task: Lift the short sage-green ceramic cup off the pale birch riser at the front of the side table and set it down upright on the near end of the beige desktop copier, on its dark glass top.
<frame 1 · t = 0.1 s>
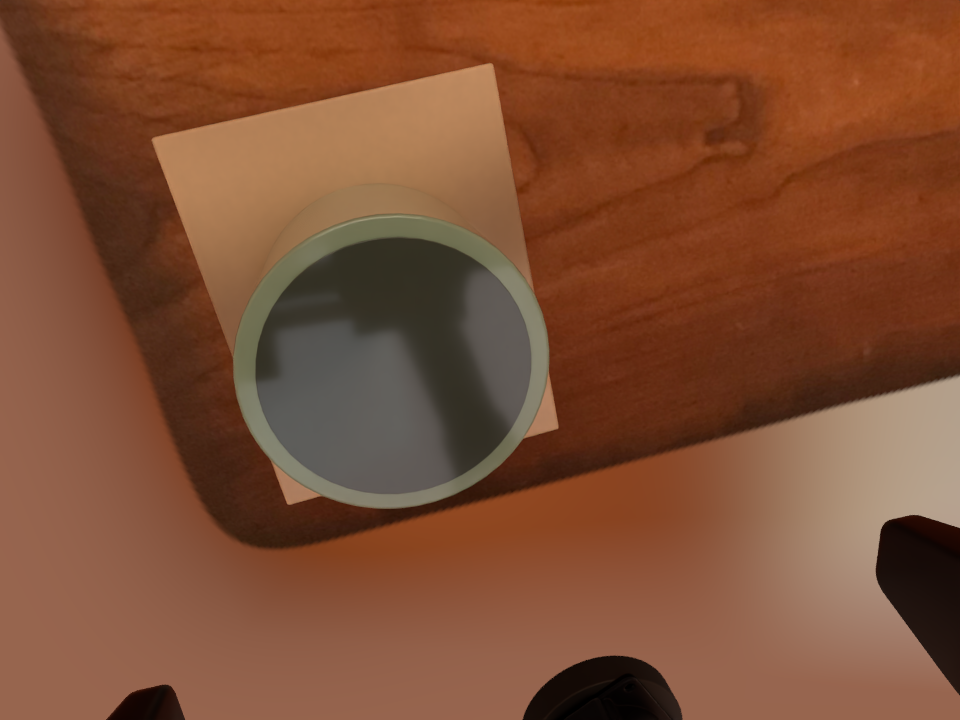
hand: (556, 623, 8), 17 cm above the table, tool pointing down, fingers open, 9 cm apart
riser: (370, 255, 23), on the table
cup: (381, 303, 18), point 6 cm above the table, touching riser
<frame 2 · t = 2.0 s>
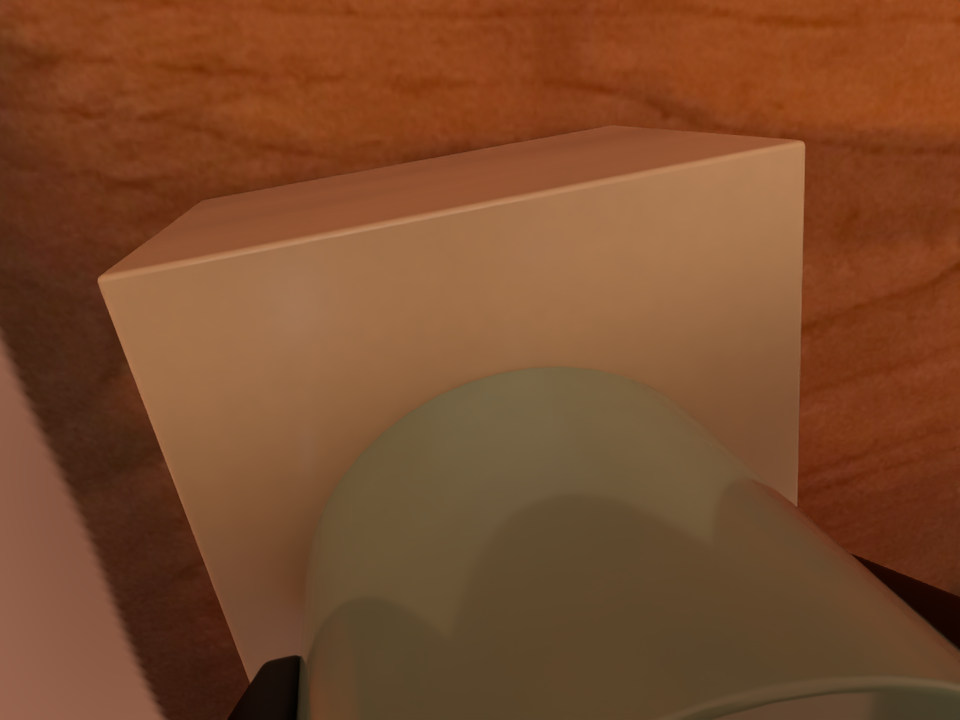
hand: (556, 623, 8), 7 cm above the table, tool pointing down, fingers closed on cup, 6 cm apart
riser: (458, 397, 15), on the table
cup: (531, 570, 9), point 6 cm above the table, touching gripper, riser
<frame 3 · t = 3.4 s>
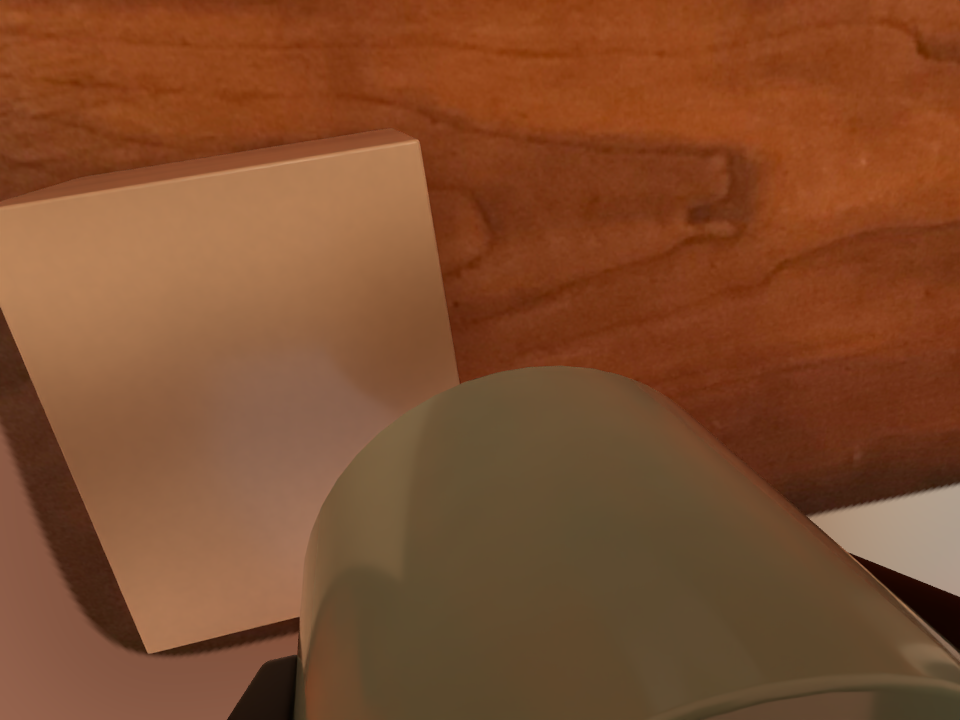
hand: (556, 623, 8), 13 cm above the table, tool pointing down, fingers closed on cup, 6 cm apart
riser: (288, 332, 20), on the table
cup: (529, 570, 9), point 12 cm above the table, touching gripper
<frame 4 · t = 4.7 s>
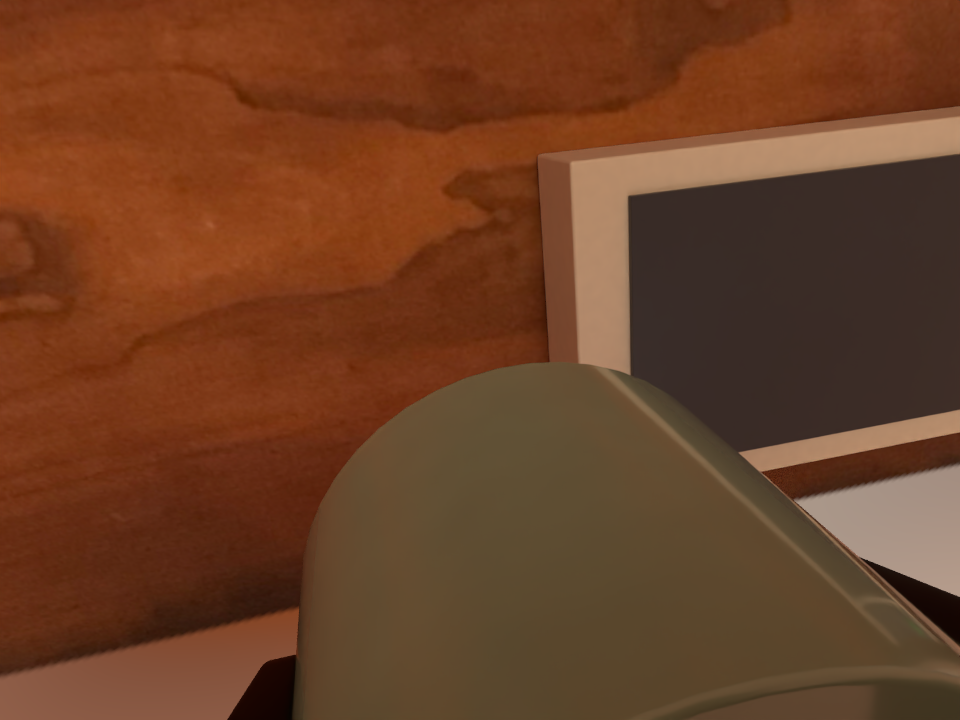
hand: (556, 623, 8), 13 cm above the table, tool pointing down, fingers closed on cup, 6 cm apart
cup: (529, 567, 9), point 12 cm above the table, touching gripper
copier: (833, 276, 23), on the table
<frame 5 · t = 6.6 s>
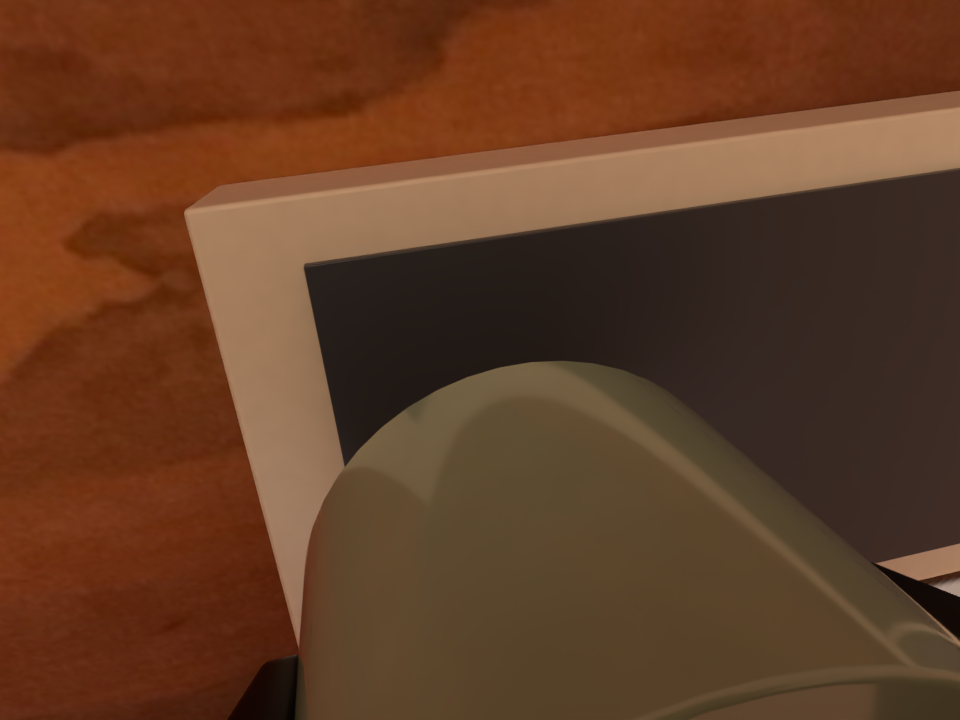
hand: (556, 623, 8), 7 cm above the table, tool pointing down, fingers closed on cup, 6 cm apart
cup: (531, 566, 9), point 6 cm above the table, touching gripper
copier: (722, 350, 16), on the table
when the fingers open (4 cm above the table, at t = 7.9 s): cup stays where it is, resting on copier.
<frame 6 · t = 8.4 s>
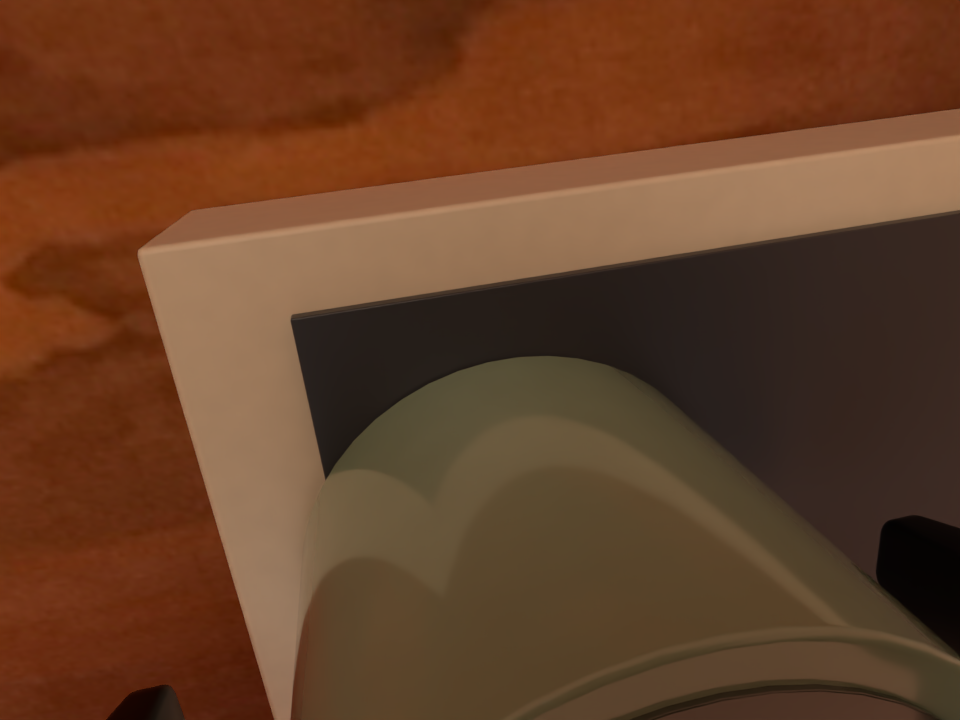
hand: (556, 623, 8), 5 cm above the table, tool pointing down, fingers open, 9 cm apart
cup: (520, 553, 10), point 3 cm above the table, touching copier
copier: (778, 395, 14), on the table
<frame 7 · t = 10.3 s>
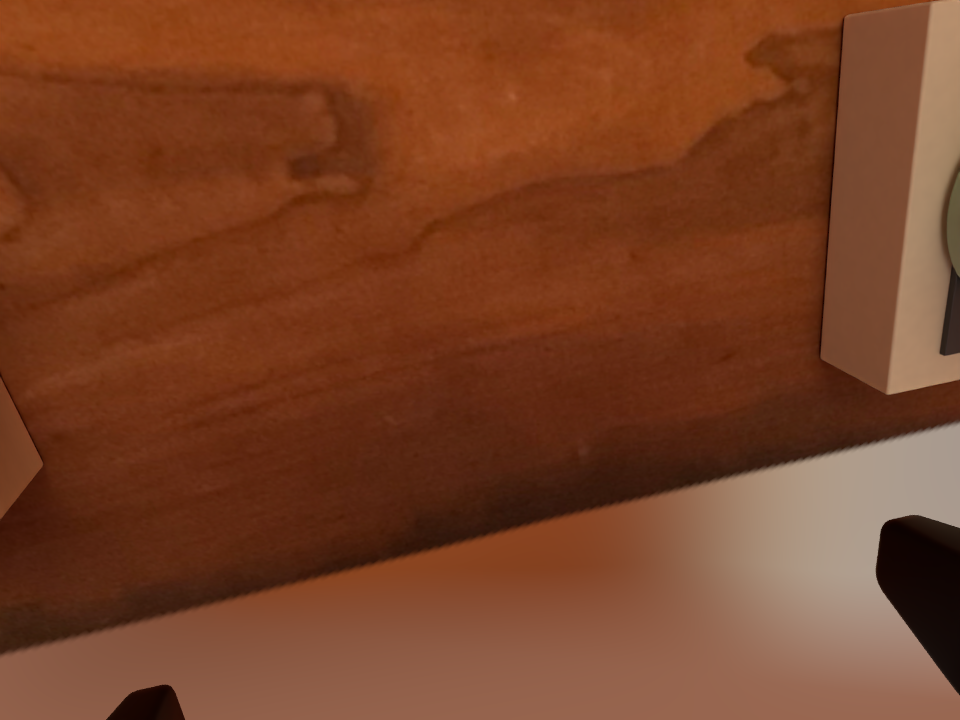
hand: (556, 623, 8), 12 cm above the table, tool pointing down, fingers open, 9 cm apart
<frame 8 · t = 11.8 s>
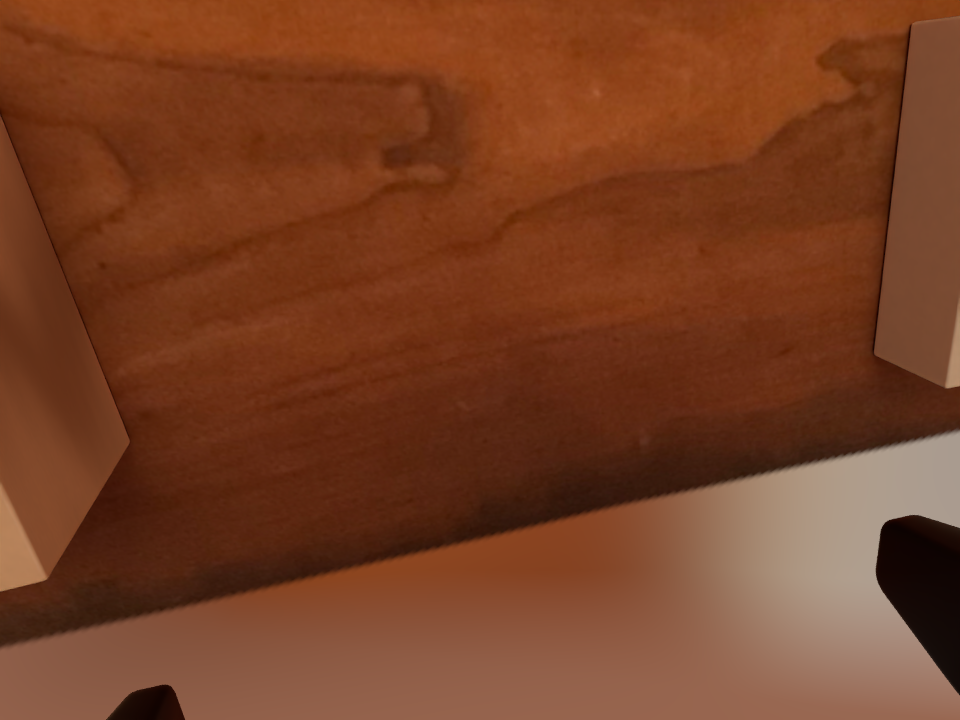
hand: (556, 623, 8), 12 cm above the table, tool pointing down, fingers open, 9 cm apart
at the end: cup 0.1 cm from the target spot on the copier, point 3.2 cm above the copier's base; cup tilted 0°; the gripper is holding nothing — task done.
